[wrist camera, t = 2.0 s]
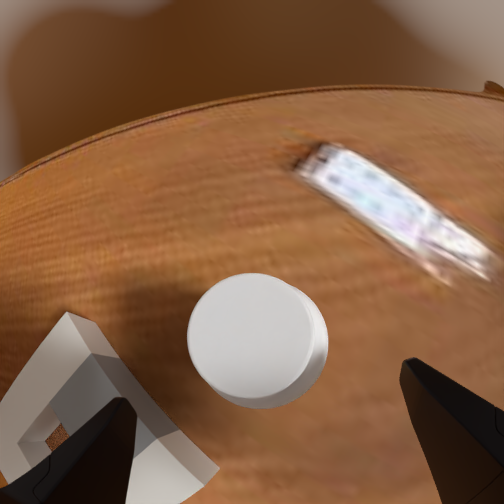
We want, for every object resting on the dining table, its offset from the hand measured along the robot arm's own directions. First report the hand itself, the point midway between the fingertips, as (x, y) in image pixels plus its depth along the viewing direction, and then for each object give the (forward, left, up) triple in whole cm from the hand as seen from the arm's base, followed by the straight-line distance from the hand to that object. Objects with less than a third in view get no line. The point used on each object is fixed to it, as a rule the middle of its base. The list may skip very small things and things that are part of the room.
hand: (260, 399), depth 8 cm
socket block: (+6, +16, -9) cm, 19 cm away
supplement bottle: (+2, -1, -10) cm, 10 cm away
